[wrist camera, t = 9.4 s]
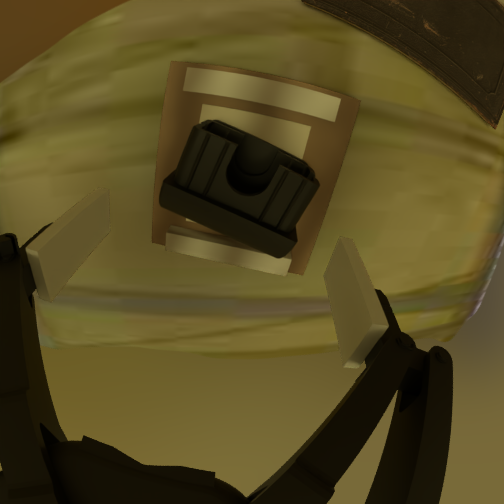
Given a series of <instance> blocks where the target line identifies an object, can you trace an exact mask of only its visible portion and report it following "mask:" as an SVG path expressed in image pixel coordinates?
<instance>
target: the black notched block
mask: <svg viewBox="0 0 504 504" xmlns="http://www.w3.org/2000/svg"><path fill="white" fill-rule="evenodd" d="M315 177H316V176H315V172H314V170H313V169H312V168H311V167H309V166H308V164H307V163H306V162H305V161H304V160H302V159H300V158H298V157H296V156H294V155H292V154H290V153H288V152H286V151H284V150H282V149H280V148H278V147H276V146H274V145H272V144H270V143H268V142H266V141H264V140H262V139H260V138H258V137H256V136H253V135H251V134H249V133H247V132H245V131H243V130H240V129H238V128H236V127H234V126H231V125H229V124H227V123H224V122H222V121H220V120H205V121H203V122H201V124H200V123H199V124H197V125H195V126H193V128H192V130H191V132H190V135H189V137H188V140H187V142H186V145H185V147H184V150H183V152H182V155H181V157H180V160H179V162H178V165H177V168H176V169H175V170H174V171H173V172H172V173H171V174H169V175H168V176H167V177H166V178H165V179H164V180H163V182H162V185H161V189H160V193H159V204H160V206H161V207H162V208H164V209H167V210H169V211H171V212H173V213H176V214H178V215H180V216H182V217H185V218H187V219H189V220H191V221H194V222H196V223H198V224H200V225H203V226H205V227H207V228H209V229H212V230H214V231H216V232H218V233H221V234H223V235H225V236H227V237H230V238H232V239H234V240H236V241H239V242H241V243H243V244H245V245H248V246H250V247H252V248H254V249H257V250H259V251H261V252H263V253H266V254H268V255H270V256H272V257H274V258H277V259H280V258H283V257H285V256H286V255H287V254H288V253H289V252H290V251H291V250H292V249H293V248H294V246H295V245H296V243H297V242H298V239H297V231H296V224H297V223H298V221H299V219H300V218H301V216H302V215H303V213H304V211H305V210H306V208H307V206H308V205H309V203H310V202H311V200H312V198H313V197H314V195H315V193H316V192H317V190H318V188H319V187H320V183H319V181H318V179H316V178H315Z"/></svg>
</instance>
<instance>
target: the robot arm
mask: <svg viewBox="0 0 504 504" xmlns="http://www.w3.org/2000/svg"><path fill="white" fill-rule="evenodd" d="M109 232H110V210H109V189H105V188H97V189H96V190H94V191H93V192H91V193H90V194H89V195H87V196H86V197H85V198H84V199H82V200H81V201H80V202H78V203H77V204H76V205H75V206H73V207H72V208H71V209H70V210H68V211H67V212H66V213H65V214H63V215H62V216H61V217H60V218H59V219H57V220H56V221H55V222H54V223H53V222H52V223H50V224H48V225H46V226H44V227H43V228H42V229H41V230H39V231H38V233H36V234H35V235H34V236H33V237H31V238H30V239H29V240H28V241H27V242H26V243H25V244H24V245H23V246H22V247H21V248H19V246H18V242H17V237H16V235H15V234H12V233H6V234H3V235H0V463H1V466H2V471H0V504H327V502H328V501H329V500H330V499H331V497H332V496H333V494H334V492H335V490H334V487H335V485H336V483H337V482H338V481H339V479H340V478H341V477H342V475H343V474H344V473H345V472H346V470H347V469H348V467H349V466H350V465H351V463H352V462H353V461H354V459H355V458H356V456H357V455H358V454H359V452H360V451H361V449H362V448H363V446H364V445H365V443H366V441H367V440H368V439H369V437H370V435H371V434H372V432H373V431H374V429H375V428H376V426H377V424H378V423H379V421H380V419H381V418H382V416H383V414H384V413H385V411H386V409H387V407H388V405H389V404H390V402H391V400H392V398H393V396H394V395H395V393H396V391H397V390H398V393H397V398H396V403H395V408H394V412H393V416H392V420H391V424H390V428H389V432H388V436H387V439H386V443H385V446H384V450H383V453H382V456H381V460H380V463H379V466H378V469H377V472H376V475H375V478H374V481H373V483H372V486H371V489H370V492H369V494H368V497H367V499H366V502H365V504H439V501H440V496H441V492H442V487H443V482H444V476H445V471H446V465H447V458H448V451H449V443H450V434H451V422H452V403H453V402H452V401H453V364H452V363H453V362H452V358H451V356H450V354H449V353H448V351H447V350H445V349H444V348H442V347H439V346H434V347H432V348H431V349H430V350H429V352H426V351H423V350H420V349H418V348H416V345H415V342H414V341H413V339H412V338H411V337H410V336H409V335H407V334H406V333H404V332H401V330H400V328H399V325H398V323H397V320H396V318H395V316H394V313H392V312H393V311H392V308H391V307H390V304H389V301H388V299H387V297H386V296H385V295H384V294H383V293H382V291H381V290H377V289H374V287H373V284H372V282H371V280H370V277H369V275H368V273H367V271H366V268H365V266H364V264H363V262H362V259H361V257H360V255H359V253H358V251H357V248H356V246H355V244H354V242H353V240H352V239H350V238H346V237H342V236H340V237H339V239H338V242H337V244H336V247H335V249H334V252H333V254H332V257H331V259H330V262H329V264H328V266H327V269H326V271H325V273H324V279H325V284H326V288H327V292H328V297H329V301H330V306H331V310H332V315H333V320H334V324H335V329H336V334H337V339H338V344H339V349H340V354H341V359H342V365H343V367H347V368H359V367H360V365H361V364H362V363H363V361H364V360H365V364H366V368H365V370H364V371H363V372H362V373H361V375H360V376H359V377H358V378H357V379H356V382H355V383H354V385H353V386H352V387H351V388H350V390H349V391H348V392H347V394H346V395H345V396H344V398H343V399H342V400H341V401H340V403H339V404H338V405H337V406H336V408H335V409H334V410H333V411H332V412H331V414H330V415H329V416H328V417H327V418H326V420H325V421H324V422H323V423H322V424H321V425H320V427H319V428H318V429H317V430H316V431H315V432H314V433H313V435H312V436H311V437H310V438H309V439H308V440H307V441H306V442H305V443H304V444H303V445H302V446H301V448H300V449H299V450H298V451H297V452H296V453H295V454H294V455H293V456H292V457H291V458H290V459H289V460H288V461H287V462H286V463H285V464H284V465H283V466H282V467H281V468H280V469H279V470H278V471H277V472H276V473H275V474H274V475H272V476H271V477H270V479H268V480H267V481H266V482H264V483H263V484H262V485H261V486H259V487H258V488H257V489H256V490H255V491H254V492H252V493H251V494H250V495H249V496H248V497H245V496H244V495H243V494H242V493H241V492H240V491H238V490H237V489H236V488H234V487H233V486H231V485H230V484H228V483H226V482H224V481H222V480H220V479H217V478H215V472H211V471H205V470H199V469H194V468H189V467H183V466H153V465H143V464H141V463H140V462H138V461H136V460H134V459H132V458H131V457H129V456H127V455H126V454H124V453H122V452H121V451H119V450H118V449H116V448H114V447H113V446H110V445H107V444H104V443H102V442H99V441H97V440H94V439H92V438H89V437H87V436H83V438H82V441H68V440H67V438H66V436H65V434H64V432H63V431H62V429H61V427H60V425H59V422H58V419H57V416H56V413H55V409H54V406H53V402H52V399H51V395H50V391H49V388H48V383H47V379H46V374H45V370H44V365H43V360H42V355H41V350H40V343H39V337H38V330H37V322H36V314H35V304H34V297H33V294H32V293H33V292H34V291H35V289H37V292H38V295H39V298H41V299H43V300H46V301H48V302H52V301H53V300H54V298H55V297H56V296H57V294H58V293H59V292H60V291H61V289H62V288H63V287H64V285H65V284H66V283H67V282H68V280H69V279H70V278H71V277H72V275H73V274H74V273H75V272H76V270H77V269H78V268H79V267H80V266H81V264H82V263H83V262H84V261H85V260H86V258H87V257H88V256H89V255H90V254H91V253H92V251H93V250H94V249H95V248H96V247H97V246H98V244H99V243H100V242H101V241H102V240H103V239H104V238H105V237H106V236H107V234H108V233H109Z"/></svg>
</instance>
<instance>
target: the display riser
mask: <svg viewBox="0 0 504 504" xmlns="http://www.w3.org/2000/svg"><path fill="white" fill-rule="evenodd" d="M360 102H361V100H358V99H355V98H352V97H349V96H346V95H343V94H340V93H337V92H334V91H331V90H328V89H325V88H321V87H318V86H314V85H311V84H307V83H303V82H300V81H296V80H292V79H287V78H283V77H279V76H274V75H270V74H265V73H260V72H255V71H249V70H244V69H238V68H231V67H225V66H217V65H209V64H200V63H190V62H177V61H171V64H170V69H169V74H168V80H167V86H166V92H165V98H164V105H163V111H162V119H161V126H160V134H159V143H158V152H157V162H156V174H155V186H154V202H153V222H152V243H156V244H161V245H165V246H166V247H165V250H167V251H171V252H176V253H180V254H185V255H189V256H194V257H198V258H203V259H207V260H212V261H216V262H221V263H226V264H230V265H235V266H239V267H244V268H249V269H253V270H258V271H263V272H268V273H272V274H277V275H282V276H286V275H287V272H290V273H295V274H299V275H303V274H304V271H305V269H306V266H307V263H308V261H309V258H310V255H311V253H312V250H313V247H314V244H315V242H316V239H317V236H318V233H319V231H320V228H321V225H322V222H323V219H324V217H325V214H326V211H327V208H328V205H329V202H330V199H331V196H332V193H333V190H334V187H335V184H336V181H337V178H338V175H339V172H340V169H341V166H342V163H343V159H344V156H345V153H346V150H347V147H348V143H349V140H350V137H351V133H352V130H353V127H354V123H355V120H356V116H357V113H358V109H359V106H360ZM205 120H220V121H222V122H224V123H227V124H229V125H231V126H234V127H236V128H238V129H240V130H243V131H245V132H247V133H249V134H251V135H253V136H256V137H258V138H260V139H262V140H264V141H266V142H268V143H270V144H272V145H274V146H276V147H278V148H280V149H282V150H284V151H286V152H288V153H290V154H292V155H294V156H296V157H298V158H300V159H302V160H304V161H305V162H306V163H307V164H308V166H309V167H311V168H312V169H313V170H314V172H315V176H316V177H315V178H316V179H318V181H319V183H320V187H319V188H318V190H317V192H316V193H315V195H314V197H313V198H312V200H311V202H310V203H309V205H308V206H307V208H306V210H305V211H304V213H303V215H302V216H301V218H300V219H299V221H298V223H297V224H296V231H297V239H298V242H297V243H296V245H295V246H294V248H293V249H292V250H291V251H290V252H289V253H288V254H287V255H286V256H285V257H283V258H280V259H277V258H274V257H272V256H270V255H268V254H266V253H263V252H261V251H259V250H257V249H254V248H252V247H250V246H248V245H245V244H243V243H241V242H239V241H236V240H234V239H232V238H230V237H227V236H225V235H223V234H221V233H218V232H216V231H214V230H212V229H209V228H207V227H205V226H203V225H200V224H198V223H196V222H194V221H191V220H189V219H187V218H185V217H182V216H180V215H178V214H176V213H173V212H171V211H169V210H167V209H164V208H162V207H161V206H160V204H159V193H160V189H161V185H162V182H163V180H164V179H165V178H166V177H167V176H168V175H169V174H171V173H172V172H173V171H174V170H175V169H176V168H177V165H178V162H179V160H180V157H181V155H182V152H183V150H184V147H185V145H186V142H187V140H188V137H189V135H190V132H191V130H192V128H193V126H195V125H197V124H199V123H200V124H201V122H203V121H205Z"/></svg>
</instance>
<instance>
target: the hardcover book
mask: <svg viewBox="0 0 504 504" xmlns="http://www.w3.org/2000/svg"><path fill="white" fill-rule="evenodd" d="M302 2H305V3H304V4H307V5H309V6H312V7H314V8H317V9H319V10H321V11H324V12H326V13H328V14H331V15H333V16H335V17H337V18H339V19H342V20H344V21H346V22H348V23H350V24H352V25H354V26H356V27H358V28H360V29H361V30H363V31H365V32H367V33H369V34H371V35H372V36H374V37H376V38H378V39H379V40H381V41H383V42H385V43H386V44H388V45H390V46H391V47H393V48H394V49H396V50H398V51H399V52H401V53H402V54H404V55H405V56H407V57H408V58H410V59H411V60H413V61H414V62H416V63H417V64H418V65H420V66H421V67H423V68H424V69H425V70H427V71H428V72H429V73H431V74H432V75H433V76H435V77H436V78H437V79H439V80H440V81H441V82H442V83H444V84H445V85H446V86H447V87H449V88H450V89H451V90H452V91H453V92H454V93H456V94H457V95H458V96H459V97H460V98H461V99H463V100H464V101H465V102H466V103H467V104H468V105H469V106H470V107H471V108H472V109H473V110H475V111H476V112H477V113H478V114H479V115H480V116H481V117H482V118H483V119H484V120H485V121H486V122H487V123H489V124H490V125H491V126H492V127H493V128H494V129H496V127H497V125H498V123H499V120H500V118H501V115H502V112H503V110H504V7H503V6H502V5H501V4H500V3H499V2H498V1H497V0H302Z"/></svg>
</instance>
